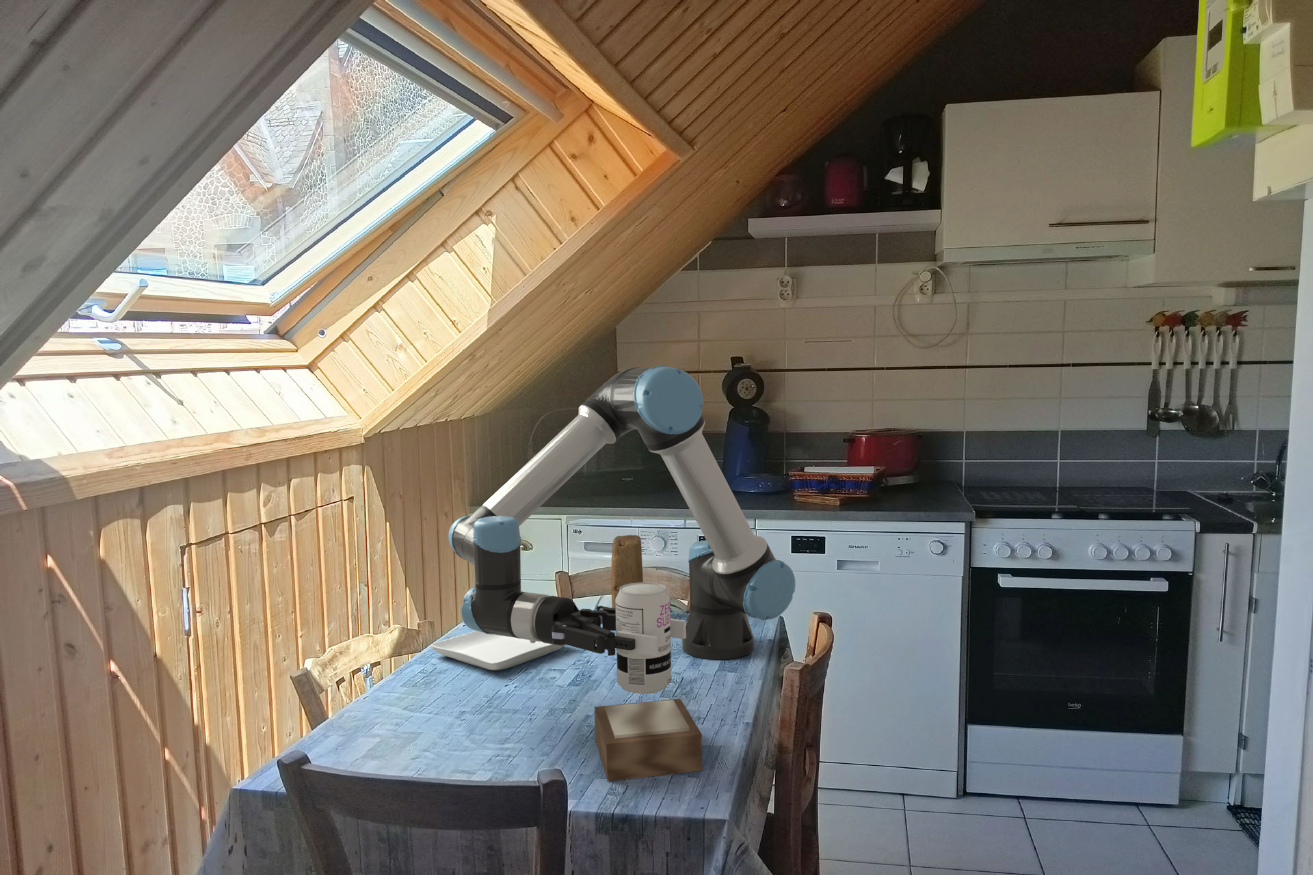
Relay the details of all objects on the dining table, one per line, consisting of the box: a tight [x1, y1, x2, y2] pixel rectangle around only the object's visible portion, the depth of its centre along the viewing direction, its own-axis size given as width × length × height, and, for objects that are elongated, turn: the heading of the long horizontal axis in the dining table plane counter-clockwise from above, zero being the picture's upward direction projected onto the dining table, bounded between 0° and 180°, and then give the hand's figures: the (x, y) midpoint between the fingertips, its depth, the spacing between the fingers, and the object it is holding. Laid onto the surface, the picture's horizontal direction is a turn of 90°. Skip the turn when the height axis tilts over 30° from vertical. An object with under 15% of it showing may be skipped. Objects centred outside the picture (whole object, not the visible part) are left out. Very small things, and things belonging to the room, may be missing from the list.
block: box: [610, 534, 644, 608], centre depth 200 cm, size 11×8×20 cm
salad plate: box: [430, 630, 565, 671], centre depth 179 cm, size 21×21×3 cm
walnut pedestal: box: [593, 698, 703, 782], centre depth 130 cm, size 14×14×6 cm
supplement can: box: [615, 581, 672, 695], centre depth 129 cm, size 8×8×15 cm
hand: (671, 637), depth 126 cm, fingers closed on supplement can, 8 cm apart
